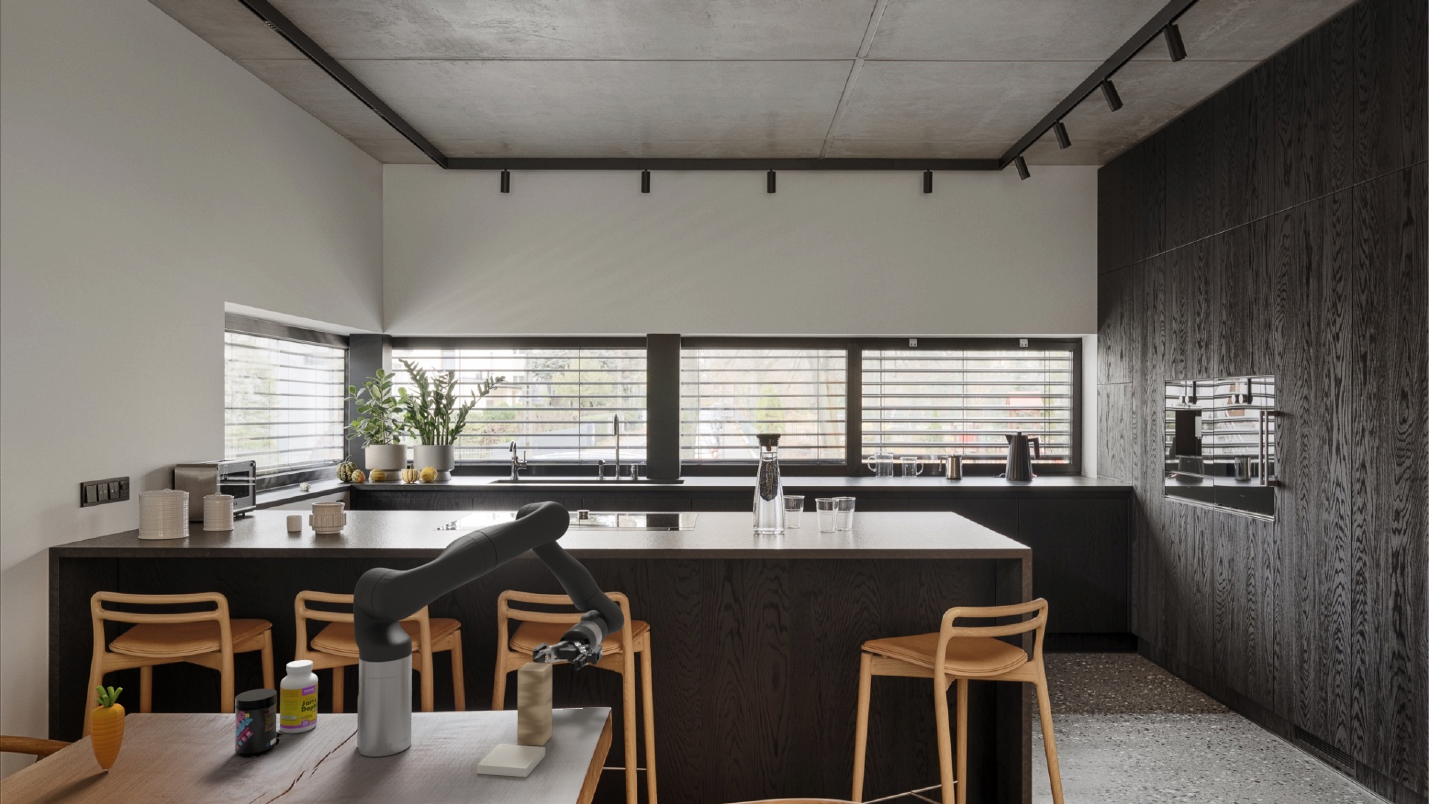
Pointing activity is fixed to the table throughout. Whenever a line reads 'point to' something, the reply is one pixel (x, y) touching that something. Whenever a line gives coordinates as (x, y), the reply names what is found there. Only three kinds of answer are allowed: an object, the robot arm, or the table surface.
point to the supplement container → (255, 722)
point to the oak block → (534, 704)
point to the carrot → (107, 727)
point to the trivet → (511, 760)
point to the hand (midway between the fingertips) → (556, 664)
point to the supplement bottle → (298, 698)
